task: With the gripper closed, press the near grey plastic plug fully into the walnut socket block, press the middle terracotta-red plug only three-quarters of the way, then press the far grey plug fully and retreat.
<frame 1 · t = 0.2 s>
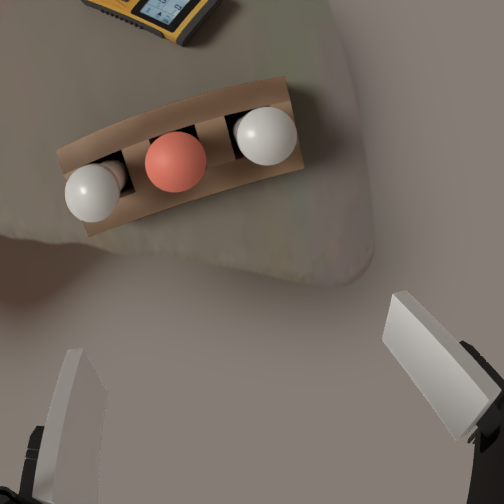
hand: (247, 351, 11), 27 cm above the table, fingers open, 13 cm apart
red plug: (177, 156, 25), point 8 cm above the table, slide at 0.0 cm
socket block: (179, 147, 32), on the table
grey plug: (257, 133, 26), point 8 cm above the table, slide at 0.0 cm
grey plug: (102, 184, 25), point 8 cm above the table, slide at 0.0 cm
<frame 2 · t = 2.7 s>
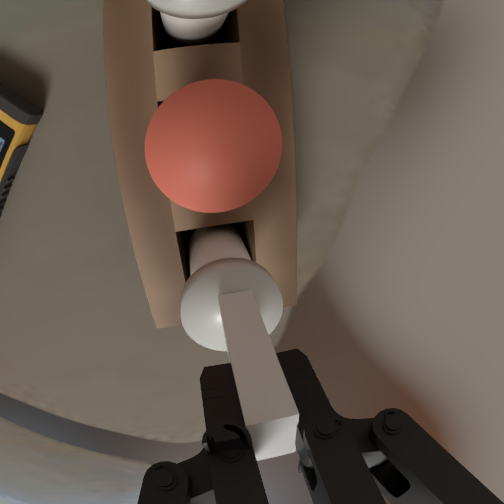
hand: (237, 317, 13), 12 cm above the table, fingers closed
red plug: (207, 139, 13), point 8 cm above the table, slide at 0.0 cm
socket block: (199, 131, 20), on the table
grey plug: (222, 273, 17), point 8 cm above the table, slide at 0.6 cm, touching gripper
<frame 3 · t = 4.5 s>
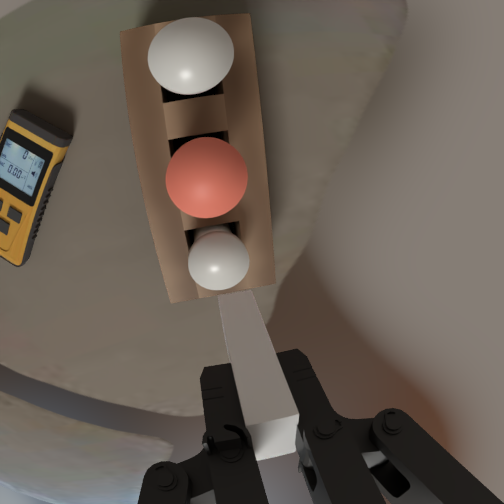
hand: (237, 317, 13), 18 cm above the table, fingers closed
red plug: (203, 168, 20), point 8 cm above the table, slide at 0.0 cm
electronic device: (23, 187, 25), on the table
socket block: (199, 154, 27), on the table
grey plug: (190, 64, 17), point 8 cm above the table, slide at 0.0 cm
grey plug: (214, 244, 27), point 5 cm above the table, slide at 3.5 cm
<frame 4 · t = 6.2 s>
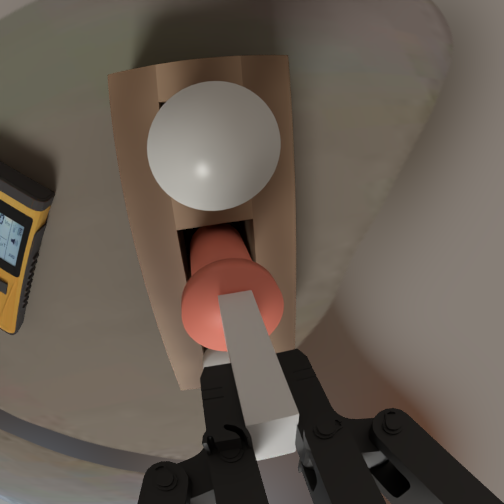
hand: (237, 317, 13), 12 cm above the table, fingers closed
red plug: (223, 274, 17), point 8 cm above the table, slide at 0.3 cm, touching gripper
electronic device: (5, 247, 21), on the table
socket block: (211, 225, 24), on the table
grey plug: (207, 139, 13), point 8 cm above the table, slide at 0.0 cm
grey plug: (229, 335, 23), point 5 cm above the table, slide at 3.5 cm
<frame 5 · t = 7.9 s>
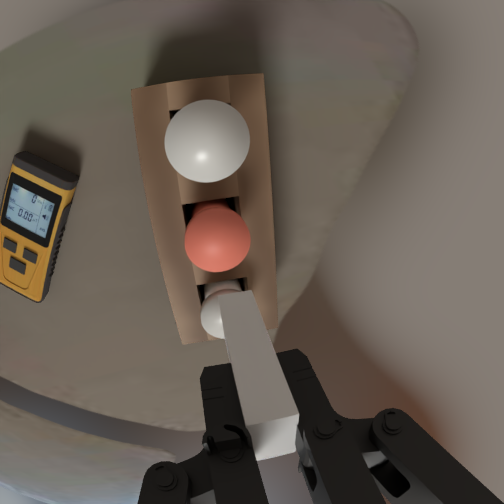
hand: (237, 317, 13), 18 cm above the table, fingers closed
red plug: (213, 224, 25), point 5 cm above the table, slide at 2.8 cm
electronic device: (34, 226, 27), on the table
socket block: (208, 205, 30), on the table
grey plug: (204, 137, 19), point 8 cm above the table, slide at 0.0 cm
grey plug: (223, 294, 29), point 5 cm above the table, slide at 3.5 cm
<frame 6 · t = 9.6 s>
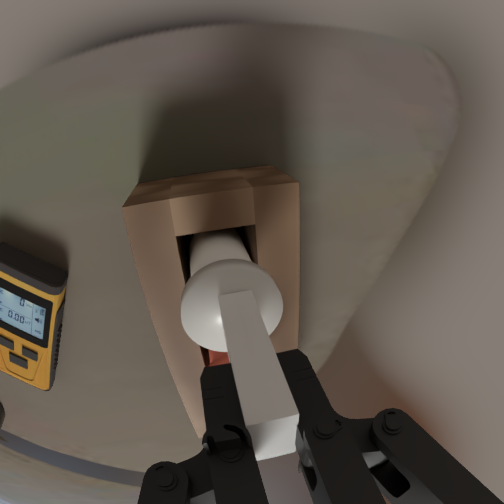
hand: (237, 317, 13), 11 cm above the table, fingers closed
red plug: (232, 348, 22), point 5 cm above the table, slide at 2.8 cm
electronic device: (28, 317, 23), on the table
socket block: (222, 307, 27), on the table
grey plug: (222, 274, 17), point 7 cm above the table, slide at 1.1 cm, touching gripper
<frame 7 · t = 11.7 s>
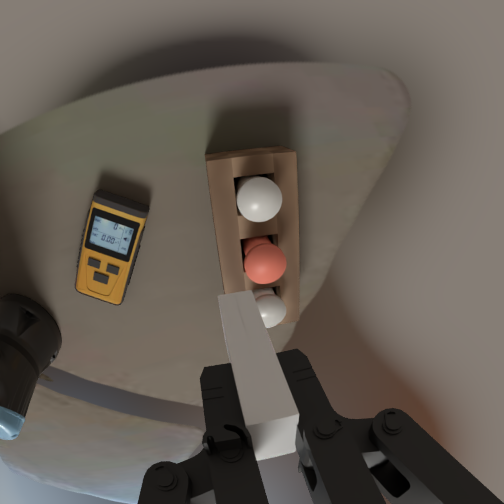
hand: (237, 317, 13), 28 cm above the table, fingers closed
red plug: (259, 251, 38), point 5 cm above the table, slide at 2.8 cm
electronic device: (111, 246, 40), on the table
socket block: (251, 234, 42), on the table
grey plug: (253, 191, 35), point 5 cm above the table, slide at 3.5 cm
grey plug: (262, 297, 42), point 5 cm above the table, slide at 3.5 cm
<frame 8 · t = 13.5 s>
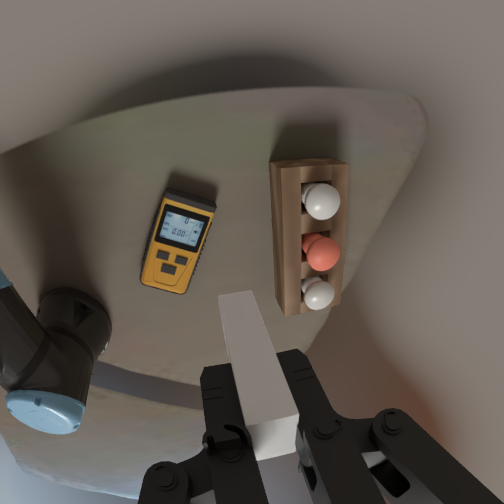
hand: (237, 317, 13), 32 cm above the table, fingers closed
red plug: (314, 244, 44), point 5 cm above the table, slide at 2.8 cm
electronic device: (175, 240, 46), on the table
socket block: (301, 231, 49), on the table
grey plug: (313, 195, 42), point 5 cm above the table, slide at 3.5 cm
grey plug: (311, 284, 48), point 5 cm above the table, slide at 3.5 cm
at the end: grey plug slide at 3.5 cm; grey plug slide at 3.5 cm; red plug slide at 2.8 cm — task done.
